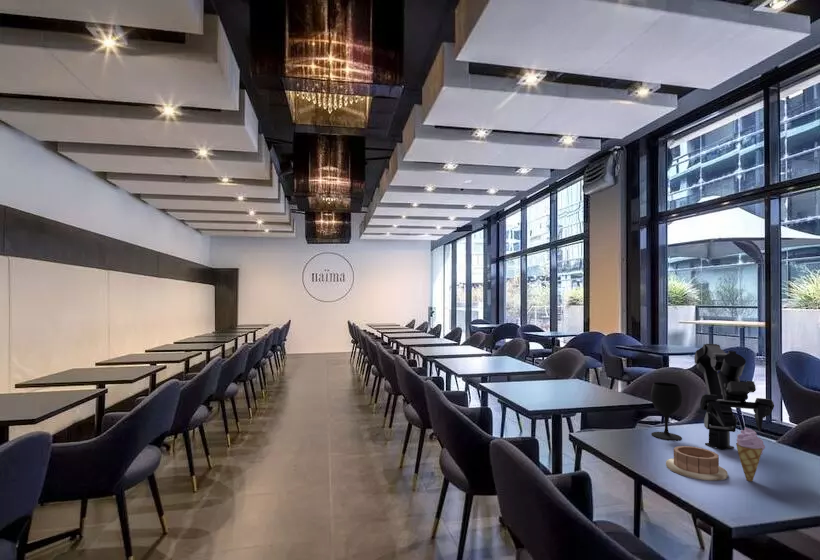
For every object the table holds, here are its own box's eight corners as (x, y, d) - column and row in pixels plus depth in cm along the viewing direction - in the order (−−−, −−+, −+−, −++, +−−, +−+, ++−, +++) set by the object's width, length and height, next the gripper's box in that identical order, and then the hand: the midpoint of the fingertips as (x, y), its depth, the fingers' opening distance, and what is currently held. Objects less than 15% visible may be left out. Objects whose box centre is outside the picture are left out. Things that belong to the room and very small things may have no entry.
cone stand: (690, 458, 150) (690, 441, 150) (740, 476, 135) (740, 458, 135) (654, 464, 145) (654, 446, 145) (701, 483, 130) (701, 464, 130)
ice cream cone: (756, 477, 135) (755, 426, 136) (770, 485, 129) (769, 432, 130) (732, 476, 136) (731, 425, 136) (745, 484, 130) (744, 431, 130)
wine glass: (678, 434, 178) (678, 383, 179) (685, 442, 168) (684, 387, 169) (649, 431, 181) (648, 381, 182) (653, 438, 171) (653, 385, 172)
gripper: (702, 369, 149) (711, 410, 138) (771, 373, 142) (786, 417, 131) (696, 389, 156) (705, 430, 145) (762, 393, 149) (776, 437, 138)
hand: (742, 428), depth 140 cm, fingers open, 9 cm apart
